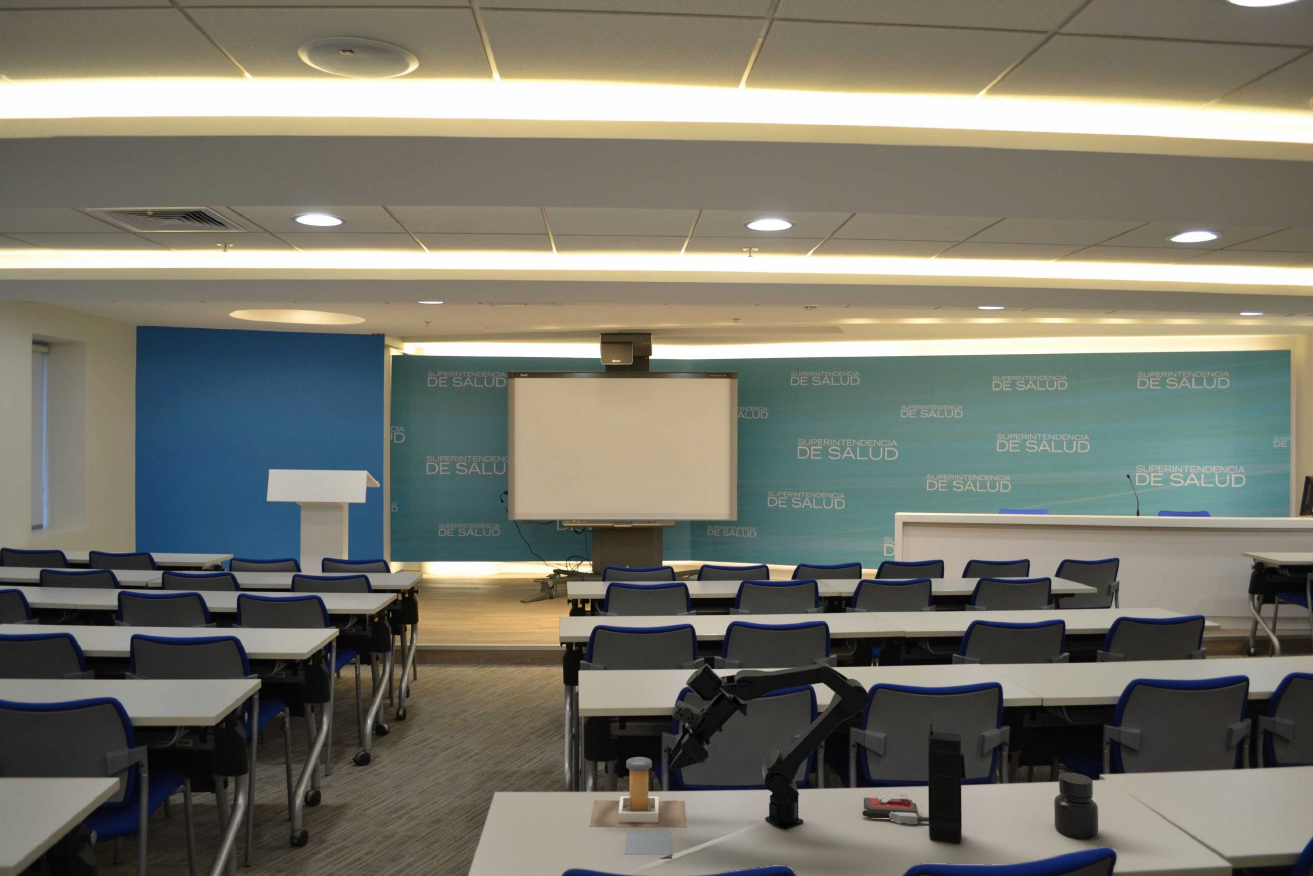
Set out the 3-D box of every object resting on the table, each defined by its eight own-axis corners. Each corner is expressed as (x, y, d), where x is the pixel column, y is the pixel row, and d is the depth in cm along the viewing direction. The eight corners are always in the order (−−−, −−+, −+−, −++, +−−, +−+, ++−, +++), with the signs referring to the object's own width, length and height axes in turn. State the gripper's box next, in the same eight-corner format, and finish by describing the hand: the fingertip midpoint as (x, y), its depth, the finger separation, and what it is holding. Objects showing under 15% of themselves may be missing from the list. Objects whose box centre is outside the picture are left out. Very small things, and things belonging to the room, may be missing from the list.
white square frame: (658, 805, 193) (658, 796, 193) (658, 822, 183) (658, 813, 183) (620, 804, 193) (620, 796, 193) (618, 822, 183) (618, 813, 183)
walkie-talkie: (864, 824, 186) (952, 828, 184) (864, 805, 186) (952, 809, 184) (858, 808, 194) (943, 811, 192) (858, 789, 195) (942, 793, 193)
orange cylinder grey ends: (641, 805, 192) (641, 755, 192) (656, 814, 187) (656, 762, 188) (621, 812, 189) (621, 760, 189) (635, 821, 184) (636, 768, 184)
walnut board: (684, 805, 195) (684, 800, 195) (686, 831, 181) (686, 827, 181) (594, 804, 195) (594, 800, 195) (589, 831, 181) (589, 826, 181)
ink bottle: (1099, 827, 184) (1098, 775, 184) (1102, 844, 176) (1101, 789, 176) (1051, 819, 188) (1051, 768, 188) (1053, 835, 180) (1052, 781, 180)
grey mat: (671, 836, 178) (671, 832, 178) (671, 859, 168) (671, 854, 168) (626, 836, 178) (626, 832, 178) (624, 859, 168) (624, 854, 168)
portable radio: (965, 833, 180) (964, 722, 181) (966, 845, 175) (965, 730, 175) (928, 828, 183) (928, 718, 184) (928, 840, 177) (927, 726, 178)
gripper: (692, 679, 197) (648, 724, 197) (692, 702, 179) (643, 752, 179) (724, 711, 197) (680, 757, 197) (728, 737, 178) (679, 788, 178)
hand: (670, 762), depth 188 cm, fingers open, 9 cm apart
